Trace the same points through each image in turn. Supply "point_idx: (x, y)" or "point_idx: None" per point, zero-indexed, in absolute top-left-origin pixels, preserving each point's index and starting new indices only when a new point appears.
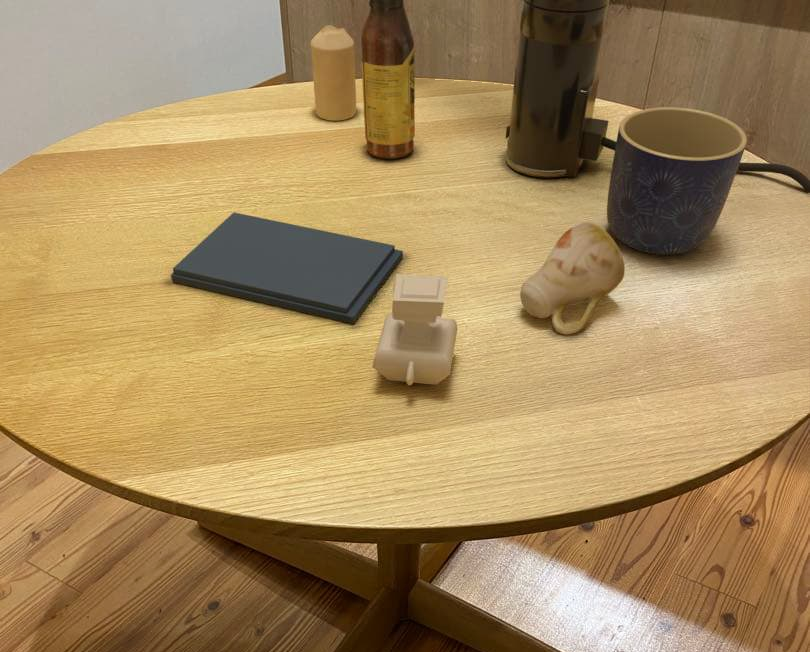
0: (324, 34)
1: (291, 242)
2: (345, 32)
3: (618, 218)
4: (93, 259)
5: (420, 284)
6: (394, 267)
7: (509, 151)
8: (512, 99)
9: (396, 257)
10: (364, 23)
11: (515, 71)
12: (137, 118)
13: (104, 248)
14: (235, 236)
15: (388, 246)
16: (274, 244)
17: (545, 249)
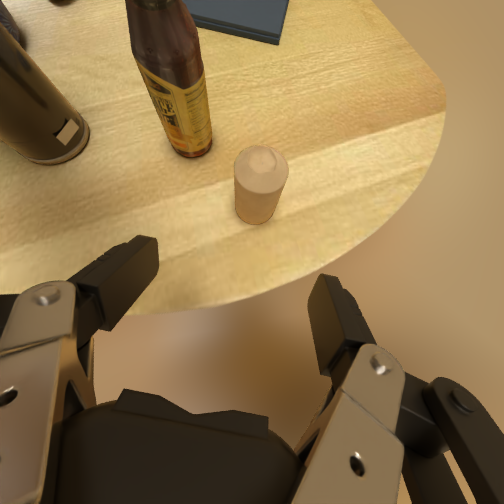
0: (272, 165)
1: (233, 8)
2: (244, 164)
3: (4, 5)
4: (339, 12)
5: None
6: None
7: (79, 118)
8: (43, 83)
9: None
10: (190, 19)
11: (14, 50)
12: (418, 173)
13: (339, 21)
14: (267, 12)
15: None
16: (242, 6)
17: (74, 31)
